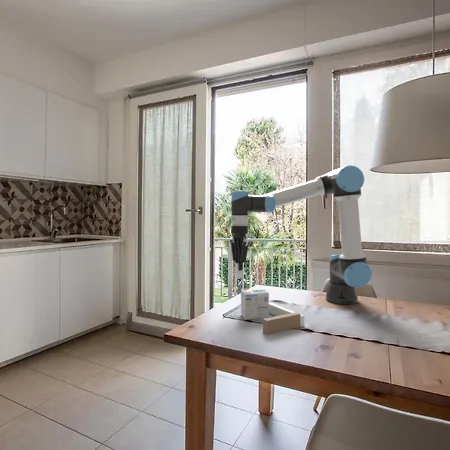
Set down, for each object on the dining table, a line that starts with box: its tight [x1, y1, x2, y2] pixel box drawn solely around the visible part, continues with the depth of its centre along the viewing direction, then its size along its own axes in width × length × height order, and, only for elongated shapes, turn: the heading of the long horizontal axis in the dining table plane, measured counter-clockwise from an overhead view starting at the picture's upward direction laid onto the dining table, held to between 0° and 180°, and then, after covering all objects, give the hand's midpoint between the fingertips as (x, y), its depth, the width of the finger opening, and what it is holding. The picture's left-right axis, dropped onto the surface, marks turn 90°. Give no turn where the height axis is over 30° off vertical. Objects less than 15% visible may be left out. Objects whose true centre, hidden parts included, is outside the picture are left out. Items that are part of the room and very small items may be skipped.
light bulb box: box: [240, 289, 270, 321], centre depth 138 cm, size 11×7×11 cm, turn 104°
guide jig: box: [262, 301, 305, 335], centre depth 133 cm, size 18×24×5 cm
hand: (238, 277), depth 148 cm, fingers closed
